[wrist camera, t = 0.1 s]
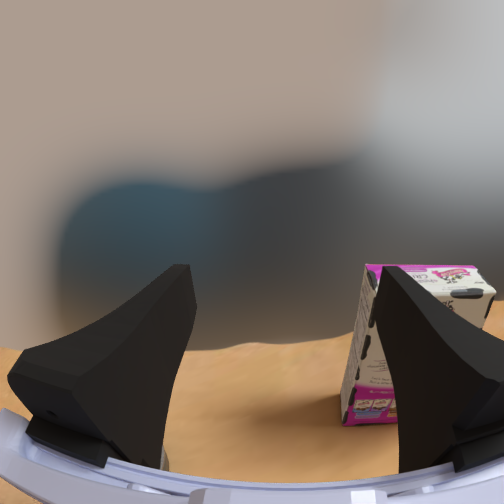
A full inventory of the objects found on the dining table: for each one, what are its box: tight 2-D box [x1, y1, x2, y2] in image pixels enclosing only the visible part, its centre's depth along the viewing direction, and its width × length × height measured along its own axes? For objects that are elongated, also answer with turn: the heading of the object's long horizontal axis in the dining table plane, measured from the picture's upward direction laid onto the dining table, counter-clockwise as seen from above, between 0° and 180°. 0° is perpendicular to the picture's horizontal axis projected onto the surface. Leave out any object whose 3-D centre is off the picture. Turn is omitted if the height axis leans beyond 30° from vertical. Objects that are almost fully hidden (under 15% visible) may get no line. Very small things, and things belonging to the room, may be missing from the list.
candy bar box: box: [340, 264, 496, 426], centre depth 25 cm, size 11×5×16 cm, turn 83°
